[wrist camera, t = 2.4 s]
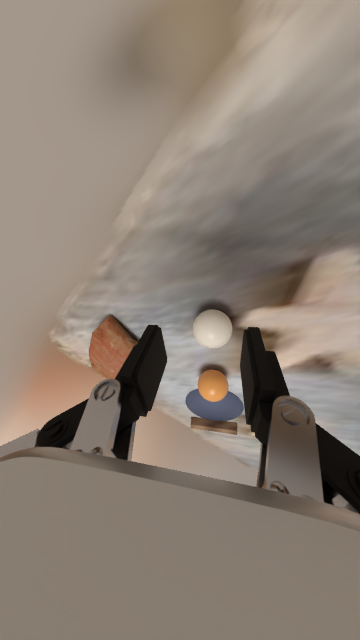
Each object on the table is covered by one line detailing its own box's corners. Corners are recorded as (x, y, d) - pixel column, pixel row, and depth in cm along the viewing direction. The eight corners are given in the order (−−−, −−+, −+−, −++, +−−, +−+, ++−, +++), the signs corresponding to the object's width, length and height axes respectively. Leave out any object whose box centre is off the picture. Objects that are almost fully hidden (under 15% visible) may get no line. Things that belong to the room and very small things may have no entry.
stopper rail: (236, 422, 47) (237, 431, 46) (236, 426, 48) (236, 434, 47) (191, 416, 50) (190, 424, 48) (192, 420, 51) (191, 427, 49)
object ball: (234, 374, 37) (236, 401, 32) (213, 385, 40) (212, 411, 35) (213, 358, 36) (211, 384, 31) (193, 371, 39) (189, 396, 34)
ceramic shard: (58, 356, 37) (104, 319, 31) (79, 341, 43) (121, 307, 37) (108, 403, 40) (157, 377, 35) (121, 383, 46) (165, 357, 41)
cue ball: (239, 318, 29) (242, 342, 24) (213, 337, 33) (211, 362, 28) (212, 295, 28) (211, 316, 23) (188, 317, 31) (182, 340, 26)
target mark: (255, 410, 42) (256, 410, 42) (213, 425, 50) (213, 425, 50) (213, 379, 39) (213, 380, 39) (175, 400, 47) (174, 401, 46)
